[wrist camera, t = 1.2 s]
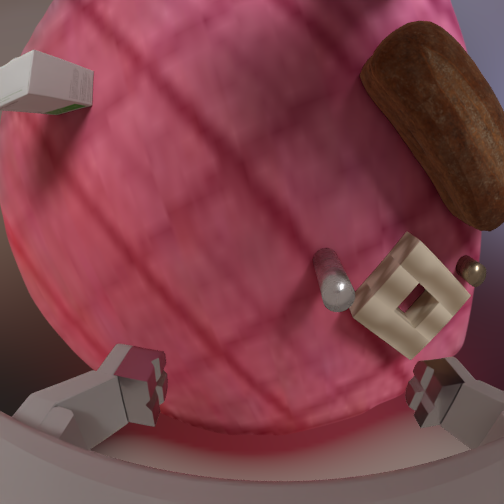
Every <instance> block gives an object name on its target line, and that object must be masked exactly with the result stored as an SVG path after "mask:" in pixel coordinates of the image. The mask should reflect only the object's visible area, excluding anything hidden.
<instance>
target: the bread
mask: <svg viewBox="0 0 504 504" xmlns="http://www.w3.org/2000/svg"><path fill="white" fill-rule="evenodd" d="M360 78H361V81H362V83H363V85H364V87H365V89H366V91H367V93H368V94H369V96H370V97H371V98H372V100H373V101H374V103H375V104H376V105H377V106H378V107H379V109H380V110H381V111H382V112H383V113H384V115H385V116H386V117H387V118H388V119H389V121H390V122H391V123H392V125H393V126H394V127H395V129H396V130H397V131H398V133H399V134H400V136H401V137H402V139H403V140H404V141H405V143H406V144H407V146H408V147H409V149H410V150H411V152H412V153H413V155H414V156H415V158H416V159H417V160H418V162H419V163H420V164H421V166H422V167H423V169H424V170H425V171H426V173H427V174H428V176H429V177H430V179H431V181H432V182H433V184H434V186H435V187H436V189H437V191H438V193H439V195H440V197H441V199H442V201H443V202H444V204H445V205H446V207H447V208H448V210H449V211H450V212H451V213H452V215H454V216H455V217H457V218H459V219H460V220H462V221H463V222H464V223H466V224H468V225H469V226H472V227H474V228H476V229H478V230H480V231H492V230H494V229H496V228H497V227H499V226H500V225H501V224H502V223H503V222H504V111H503V109H502V107H501V105H500V103H499V101H498V99H497V98H496V96H495V94H494V92H493V90H492V89H491V87H490V85H489V84H488V82H487V81H486V79H485V78H484V77H483V75H482V74H481V72H480V70H479V69H478V67H477V66H476V64H475V63H474V61H473V60H472V59H471V57H470V56H469V55H468V54H467V52H466V51H465V50H464V49H463V47H462V46H461V45H460V44H459V43H458V42H457V41H456V40H455V39H454V38H453V37H452V36H451V35H450V34H449V33H448V32H447V31H445V30H444V29H443V28H442V27H440V26H438V25H436V24H434V23H432V22H429V21H415V22H411V23H407V24H405V25H403V26H402V27H400V28H398V29H397V30H395V31H393V32H392V33H391V34H390V35H389V36H387V37H386V38H385V39H384V40H383V41H382V42H381V43H380V45H379V46H378V47H377V49H376V50H375V51H374V54H373V55H372V56H371V57H370V58H369V59H368V60H367V62H366V63H365V65H364V66H363V68H362V71H361V73H360Z"/></svg>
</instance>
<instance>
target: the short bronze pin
mask: <svg viewBox="0 0 504 504" xmlns="http://www.w3.org/2000/svg"><path fill="white" fill-rule="evenodd" d="M456 271H457V273H458V275H460V276H461V277H462V278H463V279H464V280H466V281H467V282H468V283H469V284H470V285H472V286H473V287H477V286H479V285H481V284H482V283H483V281H484V279H485V277H486V269H485V267H484V266H483V265H481V264H480V263H479V262H477V261H476V260H474V259H473V258H471V257H470V256H468V255H465V256H462V257H461V258H460V259H459V260H458V262H457V265H456Z"/></svg>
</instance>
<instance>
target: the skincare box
mask: <svg viewBox="0 0 504 504" xmlns="http://www.w3.org/2000/svg"><path fill="white" fill-rule="evenodd" d="M93 75H94V71H91V70H89V69H86V68H84V67H81V66H79V65H76V64H73V63H71V62H68V61H65V60H62V59H60V58H57V57H54V56H51V55H48V54H45V53H43V52H39V51H36V50H32V51H30V52H28V53H26V54H24V55H22V56H20V57H18V58H14V59H12V60H11V61H10V62H9V63H7V64H6V65H4V66H2V67H0V110H1V111H16V112H29V113H41V114H51V115H59V114H62V113H67V112H70V111H74V110H77V109H81V108H85V107H89V106H92V93H93Z"/></svg>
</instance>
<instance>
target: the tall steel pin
mask: <svg viewBox="0 0 504 504" xmlns="http://www.w3.org/2000/svg"><path fill="white" fill-rule="evenodd" d="M313 264H314V267H315V271H316V275H317V279H318V283H319V287H320V291H321V295H322V299H323V303H324V305H325V307H326V308H327V309H329V310H330V311H333V312H342V311H345V310H347V309H348V308H349V307H351V305H352V304H353V302H354V300H355V291H354V289H353V287H352V285H351V282H350V280H349V278H348V276H347V274H346V272H345V270H344V268H343V266H342V264H341V262H340V260H339V258H338V256H337V254H336V253H335V251H333V250H332V249H329V248H322V249H320V250H318V251H317V252H316V253H315V255H314V257H313Z"/></svg>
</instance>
